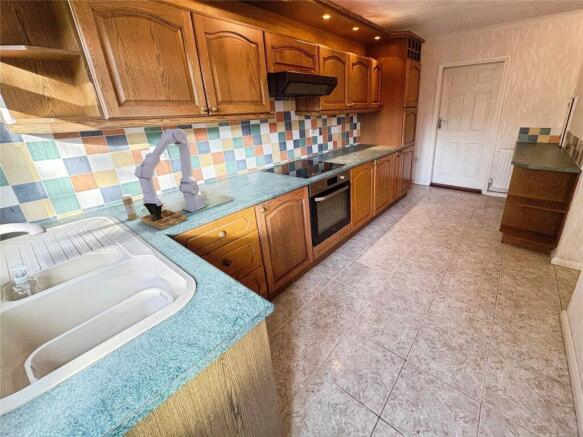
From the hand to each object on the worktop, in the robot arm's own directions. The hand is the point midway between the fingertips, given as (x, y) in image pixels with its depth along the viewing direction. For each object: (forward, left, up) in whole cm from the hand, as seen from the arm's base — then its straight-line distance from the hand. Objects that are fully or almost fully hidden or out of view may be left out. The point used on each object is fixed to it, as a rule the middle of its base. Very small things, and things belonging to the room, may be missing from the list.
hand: (156, 216), depth 131 cm
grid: (-3, 0, -4) cm, 5 cm away
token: (0, 0, -1) cm, 1 cm away
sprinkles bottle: (+4, -19, -4) cm, 20 cm away
